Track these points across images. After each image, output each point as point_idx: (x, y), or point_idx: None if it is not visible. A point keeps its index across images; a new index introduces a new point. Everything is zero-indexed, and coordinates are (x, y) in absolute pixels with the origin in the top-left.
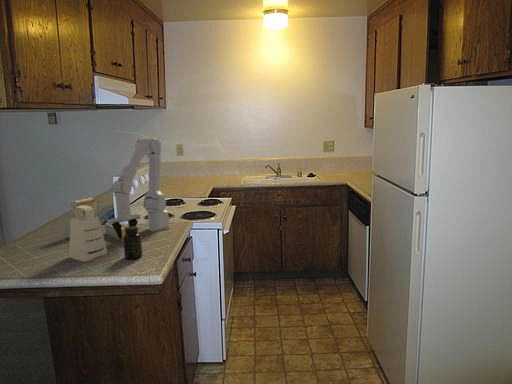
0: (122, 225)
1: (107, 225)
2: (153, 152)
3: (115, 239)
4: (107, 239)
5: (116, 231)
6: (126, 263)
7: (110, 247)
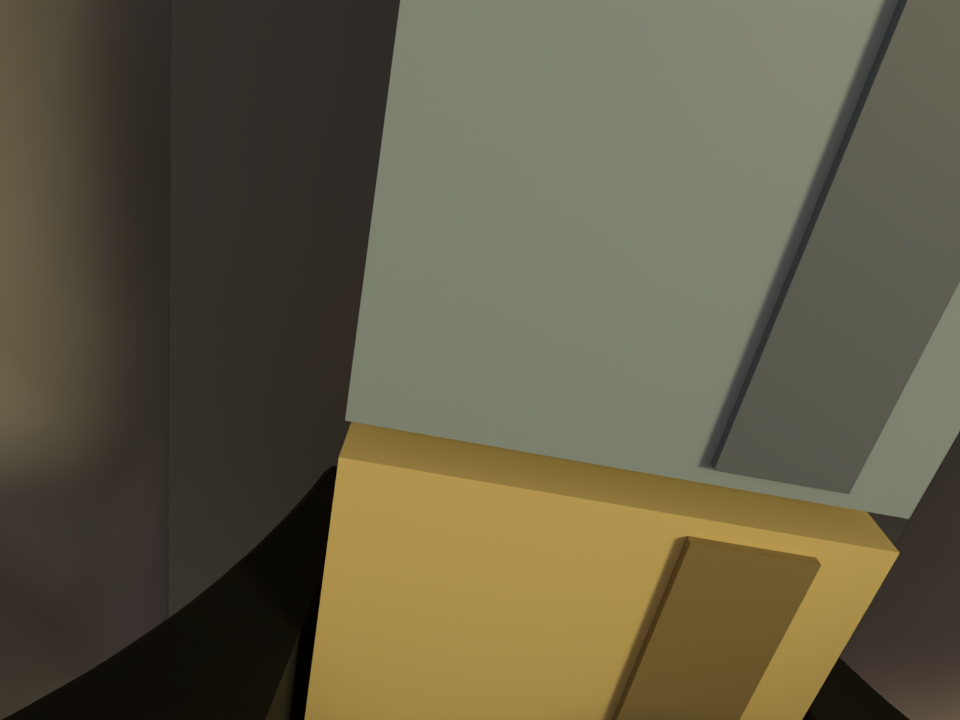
0: (883, 335)
1: None
2: None
3: (348, 279)
4: (183, 48)
5: (228, 607)
6: None
7: (14, 602)
